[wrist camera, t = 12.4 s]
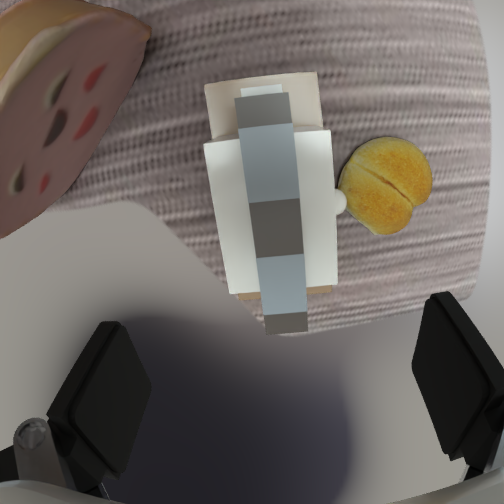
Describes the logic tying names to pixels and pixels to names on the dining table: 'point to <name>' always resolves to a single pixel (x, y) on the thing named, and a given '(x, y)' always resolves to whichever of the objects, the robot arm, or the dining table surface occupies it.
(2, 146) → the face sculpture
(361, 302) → the dining table surface
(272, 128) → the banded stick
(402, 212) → the bread roll
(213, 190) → the white block on board
